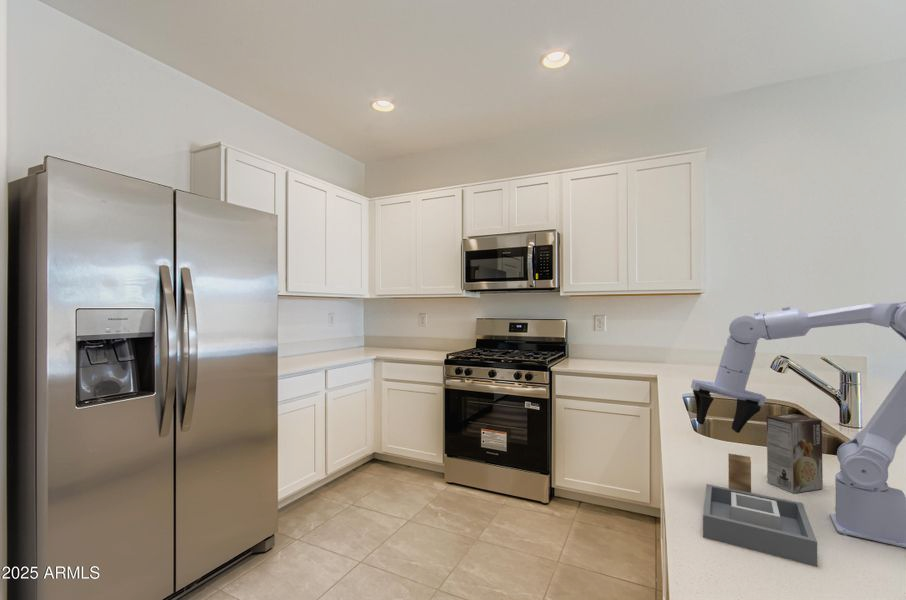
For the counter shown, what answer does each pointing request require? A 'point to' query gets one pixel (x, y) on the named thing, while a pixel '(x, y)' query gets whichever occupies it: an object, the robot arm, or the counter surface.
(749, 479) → the peg
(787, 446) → the coffee box
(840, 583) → the counter surface
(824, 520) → the counter surface
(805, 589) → the counter surface
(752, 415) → the robot arm
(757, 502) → the socket box
